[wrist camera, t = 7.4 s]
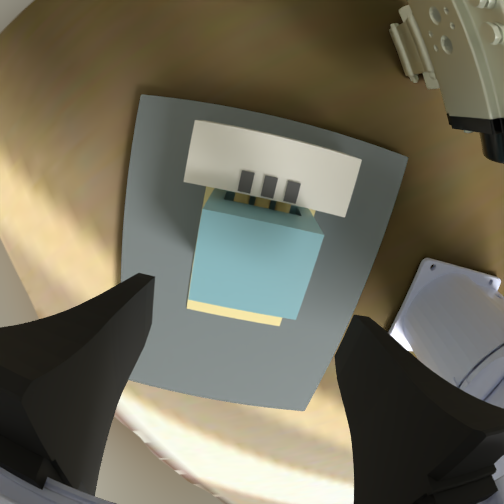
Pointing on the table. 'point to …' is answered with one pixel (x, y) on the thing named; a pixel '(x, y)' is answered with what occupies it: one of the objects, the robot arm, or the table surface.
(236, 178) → the header
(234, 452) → the table surface
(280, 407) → the mat
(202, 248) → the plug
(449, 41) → the pneumatic valve
